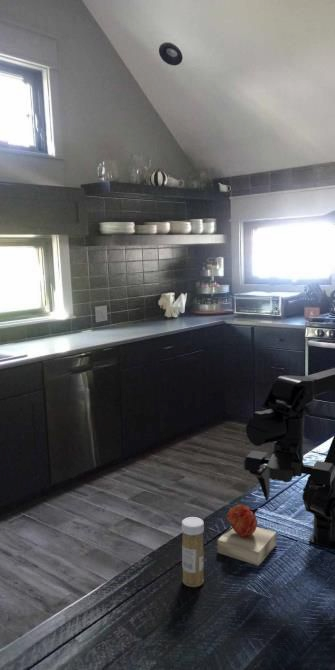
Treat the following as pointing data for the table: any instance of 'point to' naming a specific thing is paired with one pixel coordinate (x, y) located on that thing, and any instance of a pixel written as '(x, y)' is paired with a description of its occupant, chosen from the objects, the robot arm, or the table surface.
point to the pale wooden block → (248, 545)
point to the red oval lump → (242, 520)
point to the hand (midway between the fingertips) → (287, 503)
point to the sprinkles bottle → (192, 551)
